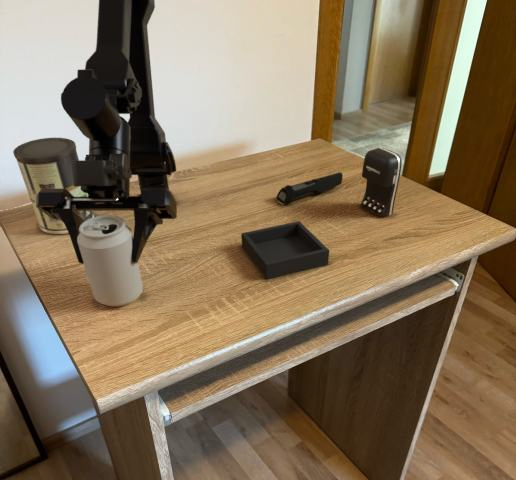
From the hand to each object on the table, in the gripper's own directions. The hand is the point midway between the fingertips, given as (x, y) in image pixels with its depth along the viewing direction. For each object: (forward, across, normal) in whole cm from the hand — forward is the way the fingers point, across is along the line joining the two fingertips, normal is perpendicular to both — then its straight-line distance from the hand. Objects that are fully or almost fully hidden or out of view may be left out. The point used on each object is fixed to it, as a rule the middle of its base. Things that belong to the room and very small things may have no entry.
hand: (107, 263), depth 69 cm
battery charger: (-16, +44, +25) cm, 53 cm away
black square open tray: (-4, +26, +14) cm, 29 cm away
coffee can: (-13, -16, +23) cm, 31 cm away
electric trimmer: (-22, +32, +31) cm, 49 cm away
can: (+4, 0, +6) cm, 7 cm away
